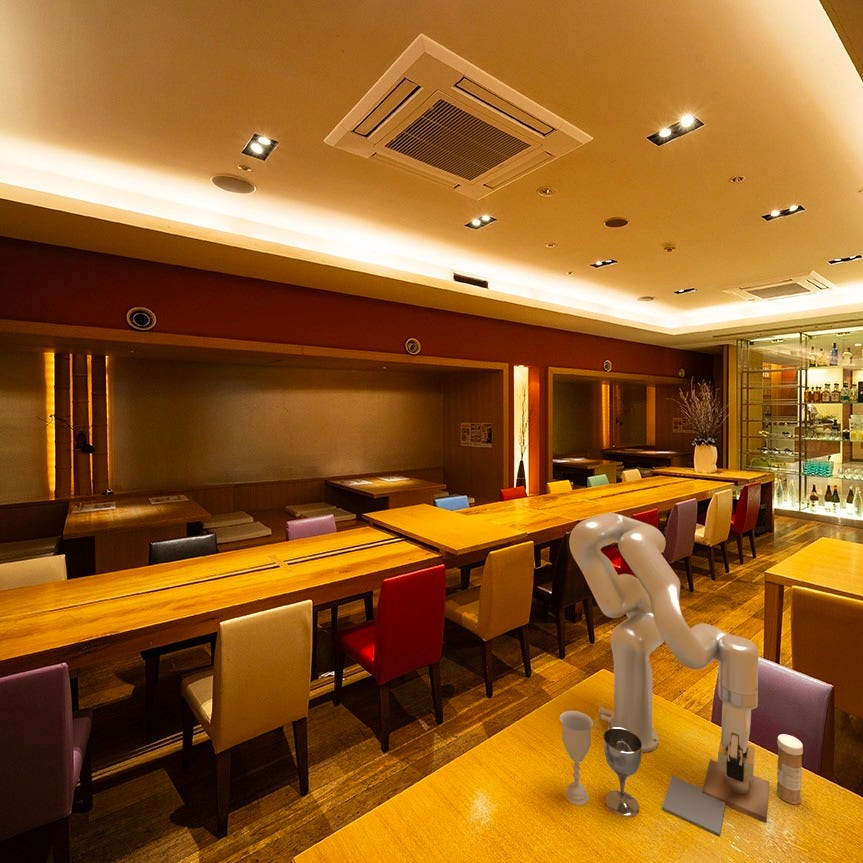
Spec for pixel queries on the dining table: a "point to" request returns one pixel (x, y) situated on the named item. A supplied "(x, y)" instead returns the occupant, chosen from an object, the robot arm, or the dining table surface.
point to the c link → (747, 760)
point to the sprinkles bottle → (789, 768)
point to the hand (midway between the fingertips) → (736, 767)
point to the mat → (694, 805)
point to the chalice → (576, 750)
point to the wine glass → (622, 767)
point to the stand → (738, 792)
